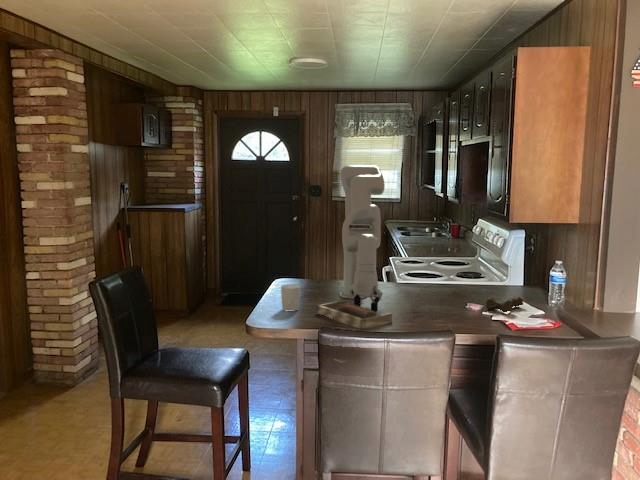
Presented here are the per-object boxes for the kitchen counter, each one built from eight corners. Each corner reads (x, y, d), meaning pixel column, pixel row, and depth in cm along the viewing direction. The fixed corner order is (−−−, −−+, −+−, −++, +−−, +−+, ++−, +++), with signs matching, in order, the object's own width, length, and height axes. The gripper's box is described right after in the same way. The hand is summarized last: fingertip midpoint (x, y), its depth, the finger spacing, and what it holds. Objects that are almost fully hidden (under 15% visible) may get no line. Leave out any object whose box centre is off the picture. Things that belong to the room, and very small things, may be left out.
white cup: (302, 308, 220) (302, 285, 219) (295, 313, 213) (295, 289, 212) (285, 306, 223) (285, 283, 222) (278, 311, 216) (277, 287, 214)
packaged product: (333, 304, 210) (351, 300, 216) (333, 316, 211) (351, 312, 217) (364, 314, 196) (383, 310, 202) (364, 326, 197) (382, 322, 203)
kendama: (528, 311, 222) (498, 317, 210) (508, 306, 229) (479, 312, 218) (529, 297, 221) (499, 302, 210) (509, 293, 229) (479, 298, 217)
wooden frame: (316, 313, 212) (316, 305, 212) (344, 307, 222) (344, 299, 221) (363, 329, 192) (363, 320, 191) (391, 322, 201) (392, 313, 201)
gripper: (344, 265, 213) (344, 306, 215) (375, 272, 199) (374, 315, 202) (358, 263, 217) (357, 303, 220) (388, 269, 204) (387, 312, 206)
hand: (365, 309), depth 211 cm, fingers open, 9 cm apart
